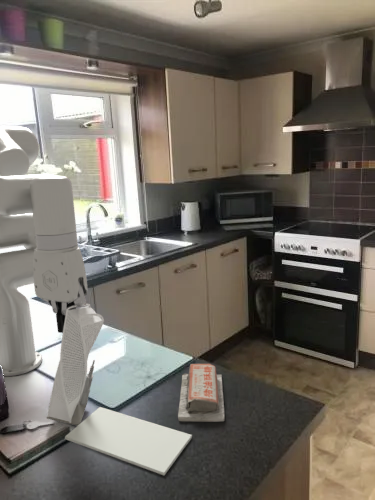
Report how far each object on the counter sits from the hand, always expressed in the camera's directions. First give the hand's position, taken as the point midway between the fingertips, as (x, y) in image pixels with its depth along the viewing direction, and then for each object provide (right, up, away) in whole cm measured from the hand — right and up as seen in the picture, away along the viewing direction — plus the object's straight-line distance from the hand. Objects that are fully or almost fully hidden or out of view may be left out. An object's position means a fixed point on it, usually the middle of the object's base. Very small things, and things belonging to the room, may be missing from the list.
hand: (66, 330), depth 83 cm
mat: (+12, -21, -1) cm, 25 cm away
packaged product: (+28, -19, +13) cm, 36 cm away
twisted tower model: (-2, -19, +6) cm, 20 cm away
